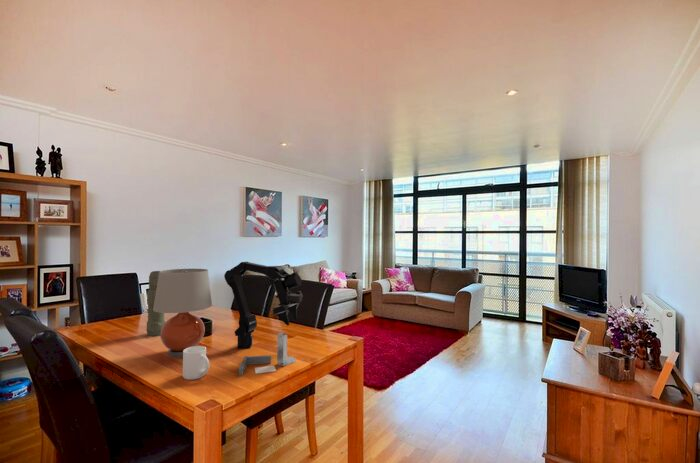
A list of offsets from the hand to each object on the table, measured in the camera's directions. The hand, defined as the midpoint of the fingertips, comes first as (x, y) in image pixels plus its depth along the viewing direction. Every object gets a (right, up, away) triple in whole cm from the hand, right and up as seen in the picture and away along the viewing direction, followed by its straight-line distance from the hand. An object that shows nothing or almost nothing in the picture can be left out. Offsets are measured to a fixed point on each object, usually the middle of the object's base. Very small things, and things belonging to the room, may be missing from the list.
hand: (292, 322), depth 157 cm
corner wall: (-11, -14, -20) cm, 27 cm away
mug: (-32, -14, -29) cm, 45 cm away
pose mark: (-7, -14, -22) cm, 27 cm away
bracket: (0, -14, -14) cm, 20 cm away
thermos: (-80, -14, +25) cm, 85 cm away
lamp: (-51, -14, -3) cm, 53 cm away
